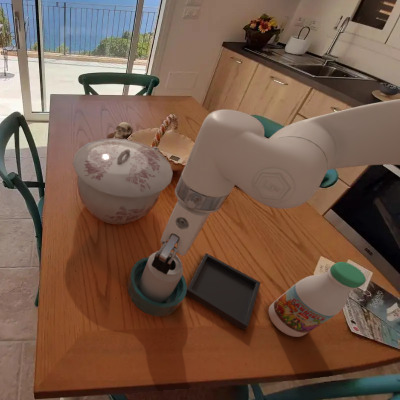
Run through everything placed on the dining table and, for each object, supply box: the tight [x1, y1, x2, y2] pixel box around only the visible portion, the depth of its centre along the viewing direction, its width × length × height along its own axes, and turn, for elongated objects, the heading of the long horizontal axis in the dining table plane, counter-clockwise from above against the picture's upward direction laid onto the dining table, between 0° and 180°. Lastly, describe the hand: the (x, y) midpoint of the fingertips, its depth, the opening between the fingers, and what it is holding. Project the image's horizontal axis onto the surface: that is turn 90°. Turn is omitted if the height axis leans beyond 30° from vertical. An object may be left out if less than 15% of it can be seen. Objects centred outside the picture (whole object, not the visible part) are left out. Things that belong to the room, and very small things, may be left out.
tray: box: [185, 252, 262, 331], centre depth 65 cm, size 14×14×2 cm
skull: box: [106, 121, 134, 139], centre depth 115 cm, size 12×10×10 cm
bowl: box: [126, 256, 188, 317], centre depth 63 cm, size 13×13×5 cm
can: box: [139, 250, 184, 303], centre depth 60 cm, size 8×8×12 cm
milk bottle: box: [268, 261, 367, 338], centre depth 54 cm, size 8×8×20 cm
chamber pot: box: [72, 138, 174, 226], centre depth 78 cm, size 28×28×21 cm
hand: (169, 253), depth 54 cm, fingers open, 9 cm apart
